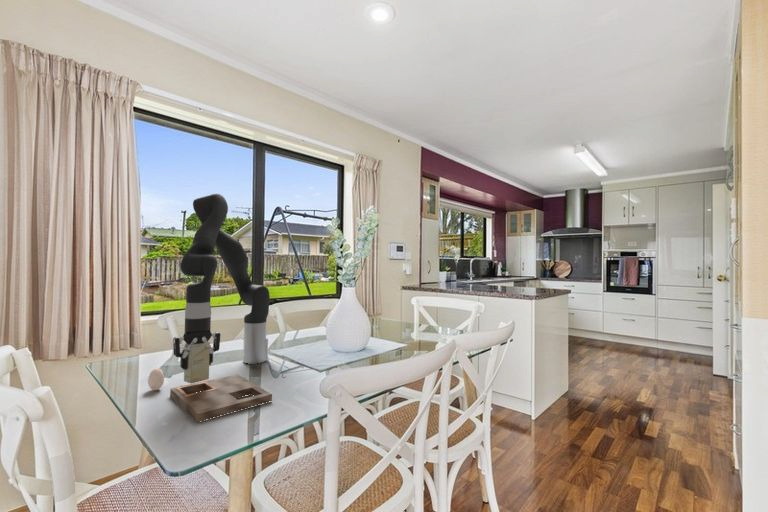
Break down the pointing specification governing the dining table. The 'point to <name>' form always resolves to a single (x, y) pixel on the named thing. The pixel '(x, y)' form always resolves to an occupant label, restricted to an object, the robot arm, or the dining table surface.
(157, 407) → the dining table surface
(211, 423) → the dining table surface
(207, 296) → the robot arm
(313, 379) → the dining table surface
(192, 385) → the socket board
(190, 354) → the skincare box
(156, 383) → the egg
